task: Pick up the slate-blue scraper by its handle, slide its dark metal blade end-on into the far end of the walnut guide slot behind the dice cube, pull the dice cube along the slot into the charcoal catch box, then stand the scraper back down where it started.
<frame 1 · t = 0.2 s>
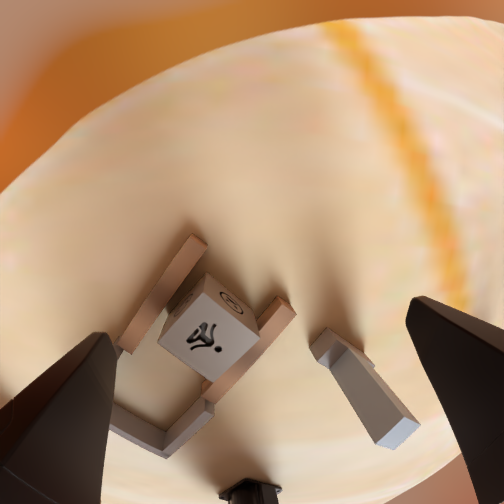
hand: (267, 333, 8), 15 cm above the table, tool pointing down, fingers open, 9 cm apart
catch box: (145, 395, 24), on the table
slot rails: (203, 322, 23), on the table
dice cube: (210, 312, 24), on the table
rake tool: (338, 351, 25), on the table
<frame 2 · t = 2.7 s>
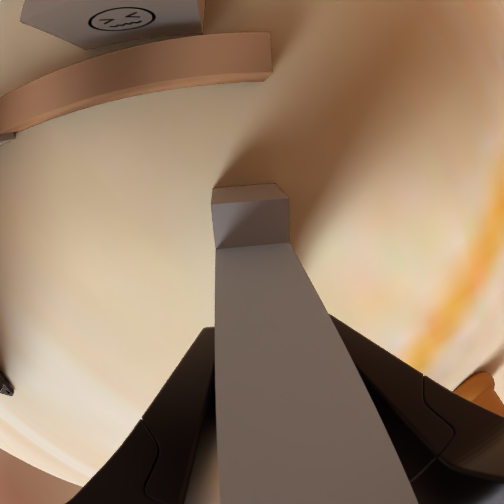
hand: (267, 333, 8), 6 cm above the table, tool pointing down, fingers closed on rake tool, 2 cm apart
ornamental finial: (462, 391, 23), on the table
rake tool: (248, 249, 13), on the table, touching gripper
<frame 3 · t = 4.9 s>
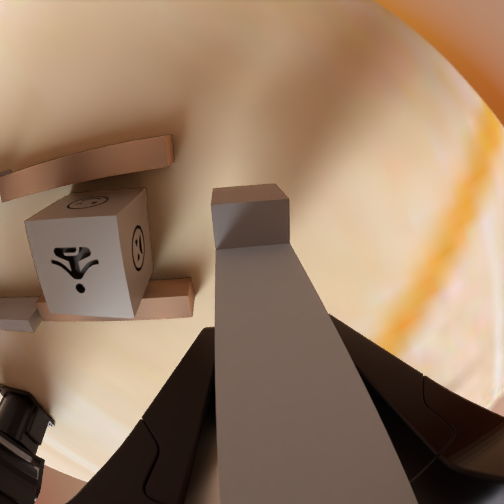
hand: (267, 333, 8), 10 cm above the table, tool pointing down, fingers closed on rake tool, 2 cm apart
slot rails: (96, 233, 16), on the table
dice cube: (111, 229, 16), on the table
rake tool: (248, 249, 13), point 4 cm above the table, touching gripper
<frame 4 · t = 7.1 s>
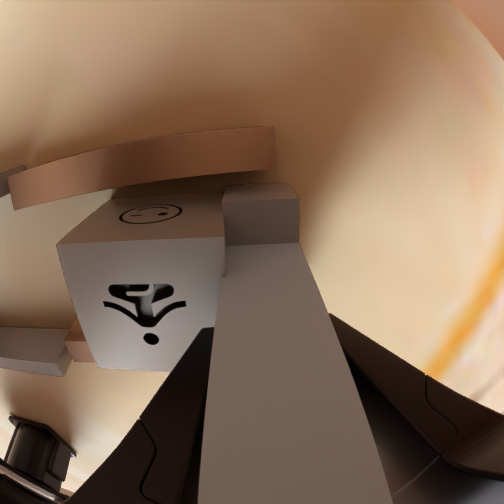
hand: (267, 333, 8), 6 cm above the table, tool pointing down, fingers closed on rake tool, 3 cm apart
slot rails: (149, 252, 13), on the table
dice cube: (169, 247, 13), on the table, touching rake tool
rake tool: (259, 247, 13), on the table, touching dice cube, gripper
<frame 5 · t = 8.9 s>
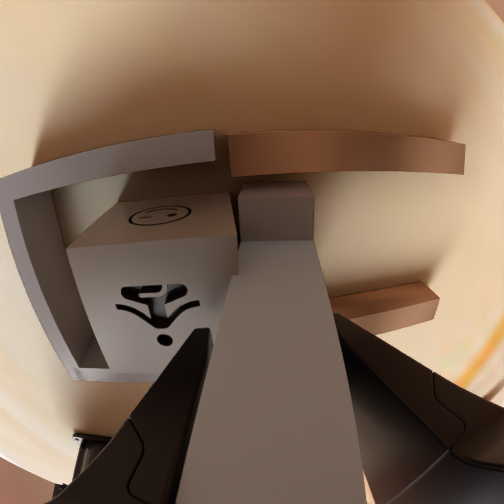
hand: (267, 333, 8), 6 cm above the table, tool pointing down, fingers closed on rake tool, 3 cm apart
catch box: (130, 257, 13), on the table
slot rails: (349, 235, 14), on the table
dice cube: (177, 249, 13), on the table, touching rake tool
rake tool: (277, 243, 13), on the table, tilted 11°, touching dice cube, gripper
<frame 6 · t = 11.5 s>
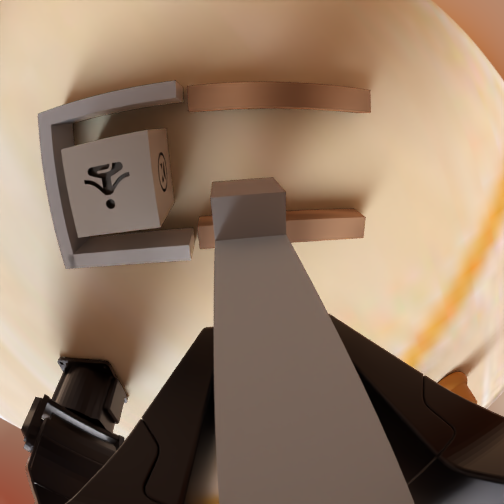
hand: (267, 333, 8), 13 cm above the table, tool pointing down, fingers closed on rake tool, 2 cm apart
catch box: (122, 174, 17), on the table
slot rails: (280, 160, 18), on the table
ornamental finial: (443, 385, 34), on the table
dice cube: (135, 170, 18), on the table
rake tool: (246, 241, 13), point 7 cm above the table, touching gripper
when the fingers open (6 cm above the table, at t = 13.6 s): rake tool stays where it is, on the table.
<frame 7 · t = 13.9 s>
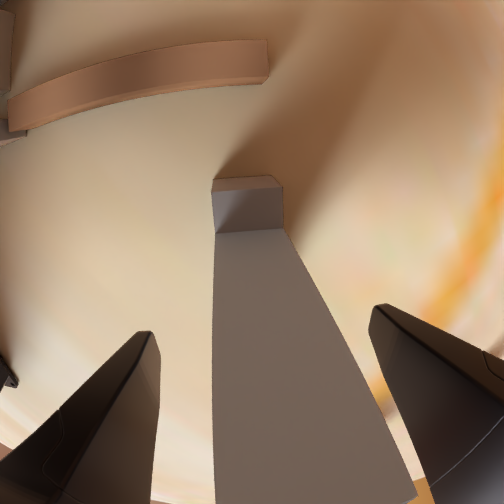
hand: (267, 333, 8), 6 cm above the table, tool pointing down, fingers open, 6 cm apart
slot rails: (130, 3, 8), on the table
rake tool: (245, 237, 13), on the table
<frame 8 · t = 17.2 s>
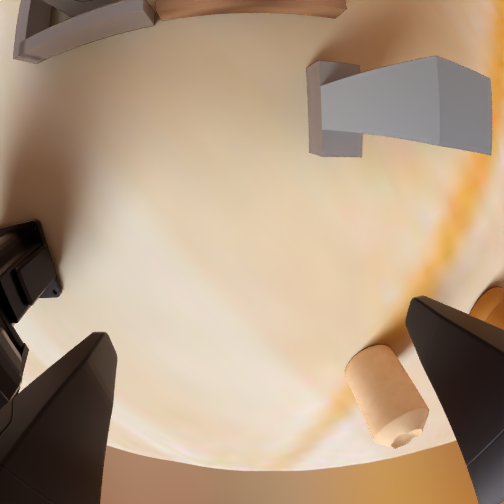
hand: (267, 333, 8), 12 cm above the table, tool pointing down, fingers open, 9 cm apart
candle: (368, 362, 27), on the table
ornamental finial: (482, 308, 27), on the table
rake tool: (326, 110, 16), on the table
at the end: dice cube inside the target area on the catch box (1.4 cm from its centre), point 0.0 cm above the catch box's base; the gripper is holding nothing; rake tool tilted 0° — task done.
